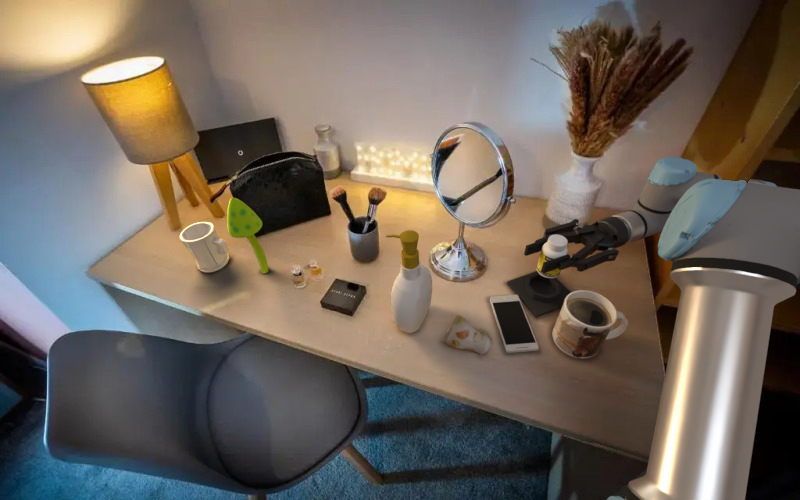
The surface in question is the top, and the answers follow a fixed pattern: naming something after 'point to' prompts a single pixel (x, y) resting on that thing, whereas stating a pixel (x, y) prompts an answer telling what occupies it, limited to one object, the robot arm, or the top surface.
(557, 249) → the supplement bottle
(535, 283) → the dock pad
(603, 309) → the mug
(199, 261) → the cup
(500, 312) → the smartphone
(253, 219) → the mushroom
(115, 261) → the top surface
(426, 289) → the soap bottle
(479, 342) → the patterned beanbag
